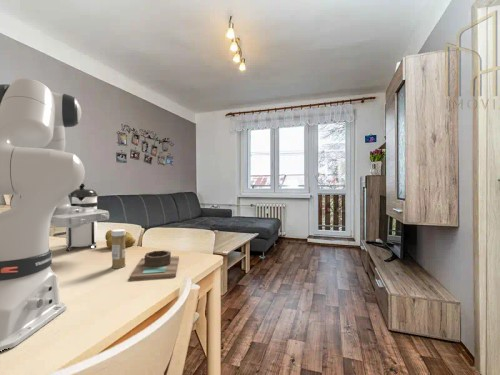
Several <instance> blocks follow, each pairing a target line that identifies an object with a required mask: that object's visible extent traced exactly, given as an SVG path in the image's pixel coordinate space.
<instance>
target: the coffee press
mask: <svg viewBox="0 0 500 375" xmlns="http://www.w3.org/2000/svg"><path fill="white" fill-rule="evenodd" d="M70 194H71V197H72V205H71V206H77V207H94V209H98V196H99V195H98V193H97V191H96V190H94V189H91V188H90V189H89V188H85V184H84V183H82V184H81V185H80V186H79V187H78V188H77V189H76V190H75V191H73V192H72V193H70ZM97 240H98V221H97V222H91V223H87V224H84V225H82V226H79V227H77V228H66V227H65V241H66V242H65V244H66V245H67V246H66V249H65V250H66V252H71V251H72V250H73V248H74V249H75V248H82V247H90V248H91V249H92V250H94V249H96V248H97V242H98V241H97Z"/></svg>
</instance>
